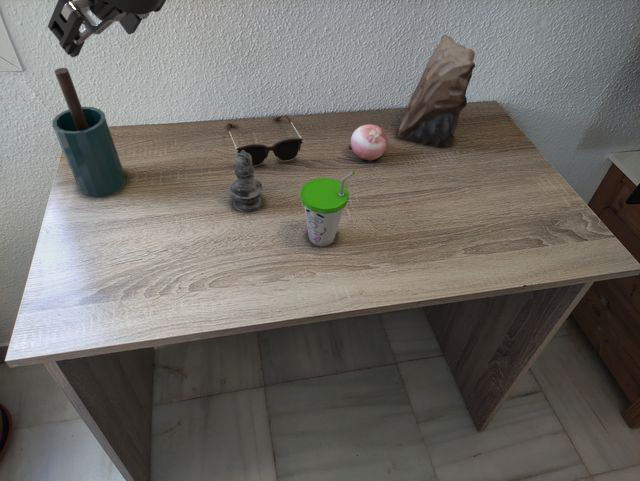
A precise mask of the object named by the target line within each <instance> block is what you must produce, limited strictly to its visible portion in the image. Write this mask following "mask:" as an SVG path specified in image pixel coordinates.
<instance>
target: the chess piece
mask: <svg viewBox="0 0 640 481" xmlns="http://www.w3.org/2000/svg"><path fill="white" fill-rule="evenodd" d="M235 165H236V167H235V170H234V174H235V175H236V180H235V181H234V182H232V183H231V184H230V187H229V191H230V194H232V196H233V198H234V200H233V206H234V208H235V209H236V210H237V211H239V212H243V213H250V212H254V211H257V210H258V209H259V208H260V207H261V206H262V202H263V201H262V198H261V197H260V196H261V194H262V192H263V188H264V187H263V184H262V183H261V182H260V180H258V179H255V176H254V175H255V174H256V169H255V168H254V166H252V157H251V155H250V154H249V153H247V152H245V151H244V150H242V151H241V153H237V154H236V156H235Z"/></svg>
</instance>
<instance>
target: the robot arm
mask: <svg viewBox="0 0 640 481" xmlns="http://www.w3.org/2000/svg"><path fill="white" fill-rule="evenodd" d="M166 2H167V0H57V2H56V4H55V7H54V9H53V12H52V15H51V17H50V18H49V21H48V24H47V28H48V29H49V31H50V32H51V33H52V34H53V35H54V37H55V38H56V39H57V40H58V41H59V43H58V44H59V46H60V47H61V48H62V49H63V51H64V52H65V53H66V54H67V56H70V57H71V58H76V57H78V56H79V55H80V53H81V51H82V49H83V47H84V44H85V42H86V40H88V39H89V38H90V37H91V36H92V35H97V36H98V35H101V34H102V33H104V31H105V30H107V29H108V28H109V27H110V26H112V25H113V23H115V22H116V23H118V22H119V25H121V27H122V28H123V30H124V31H125V32H126V34H128V35H132V34H135V32H136V31H137V29H138V27H139V26H140V24H141V22H142V21H143V20H146V19H147V18H148V17H149V16H150V13H152V12H154V13H157V12H160V11H161V9H162V8H164V5H165V3H166ZM89 12H91V13H92V14H93V15H94V16H95V17H96V18H97V19H98V20H99V22H98V23H96V22H95V21H94V19H93V17H92V16H91V15H90V14H89ZM82 25H83V26H84V29H83V30H80V29H81V26H82Z"/></svg>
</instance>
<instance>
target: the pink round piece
mask: <svg viewBox="0 0 640 481" xmlns="http://www.w3.org/2000/svg"><path fill="white" fill-rule="evenodd" d="M387 148H388V137H387V134H386V132H385V130H384V129H383V128H381V127H380V126H379V125H376V124H364V125H360V126H358V128H356V129H355V130H354V131H353V133H352V134H351V137H350V145H348V147H347V149H348V150H351V151H352V153H353V154H354V155H355V156H357V157H358V158H359V159H361V160H365V161H367V162H368V163H371V162H372V161H374V160H377V159H379V158H381V157H382V156H383V155H384V154H385V153H386V151H387Z"/></svg>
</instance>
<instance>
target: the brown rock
mask: <svg viewBox="0 0 640 481" xmlns="http://www.w3.org/2000/svg"><path fill="white" fill-rule="evenodd" d="M475 57H476V54H475V51H474V49H472V48H467V47H466V46H465V45H464V44H463V45H462V44H460V43H457V42H456V41H454V39H453V37H451V36H449V35H447V34H443V35H442V36H441V38H440V41H439V42H438V44H437V46H436V47H435V49H434V51H432V54H431V56H430V57H429V59H428V62H427V64H426V66H425V68H424V71H423V73H422V75H421V77H420V79H419V81H418V83H417V85H416V86H415V89H414V90H413V93H412V95H411V96H410V98H409V102H408V104H407V107H406V109H405V112H404V114H403V116H402V118H401V121H400V122H401V123H400V125H399V128H398V133H397V134H398V135H397V139H400V140H404V141H410V142H413V143H420V144H423V145H427V146H434V147H435V148H448V147H450V145H451V143H452V142H451V140H452V138H454V135H455V132H456V130H457V127H458V124H459V121H460V118H459V117H460V114H461V112H462V111H463V110H464V109H465V108H466V107H467V104H468V98H467V89H468V86H469V85H470V82H471V79H472V76H473V71H474V68H476V64H475V62H474V60H475Z"/></svg>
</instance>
